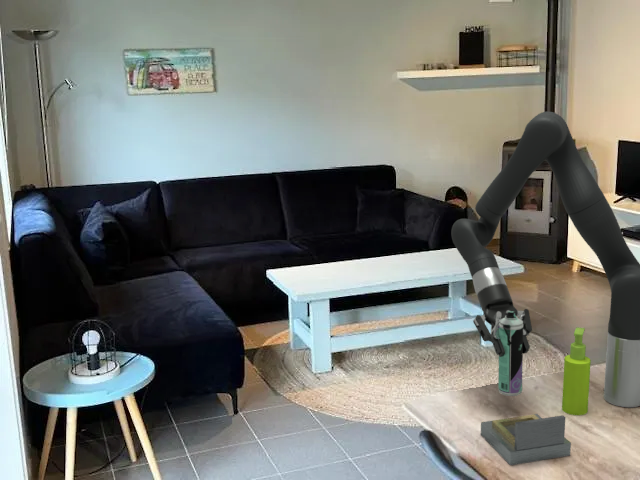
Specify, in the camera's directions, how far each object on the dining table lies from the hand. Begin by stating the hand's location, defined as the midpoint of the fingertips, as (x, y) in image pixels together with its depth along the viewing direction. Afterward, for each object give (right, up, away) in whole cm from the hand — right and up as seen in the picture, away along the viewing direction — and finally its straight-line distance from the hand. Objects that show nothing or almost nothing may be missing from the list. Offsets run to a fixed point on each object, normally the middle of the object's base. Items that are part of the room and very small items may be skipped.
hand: (514, 353), depth 176 cm
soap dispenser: (+16, -14, +6) cm, 22 cm away
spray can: (0, -10, +4) cm, 11 cm away
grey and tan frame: (0, -19, -10) cm, 21 cm away
